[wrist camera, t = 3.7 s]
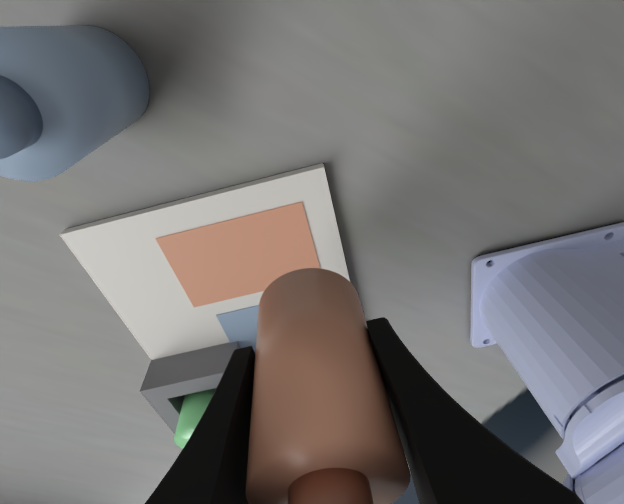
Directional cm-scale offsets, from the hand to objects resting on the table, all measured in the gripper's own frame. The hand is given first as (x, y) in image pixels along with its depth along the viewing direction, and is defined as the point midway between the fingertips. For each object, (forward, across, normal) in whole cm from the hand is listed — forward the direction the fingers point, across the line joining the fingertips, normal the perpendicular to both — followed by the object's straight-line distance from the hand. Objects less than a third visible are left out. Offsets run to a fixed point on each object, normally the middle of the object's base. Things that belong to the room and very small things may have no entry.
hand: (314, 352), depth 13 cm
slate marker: (+9, +7, -9) cm, 15 cm away
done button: (+7, +9, +10) cm, 15 cm away
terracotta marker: (+2, 0, 0) cm, 2 cm away
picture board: (+9, +5, +5) cm, 11 cm away
